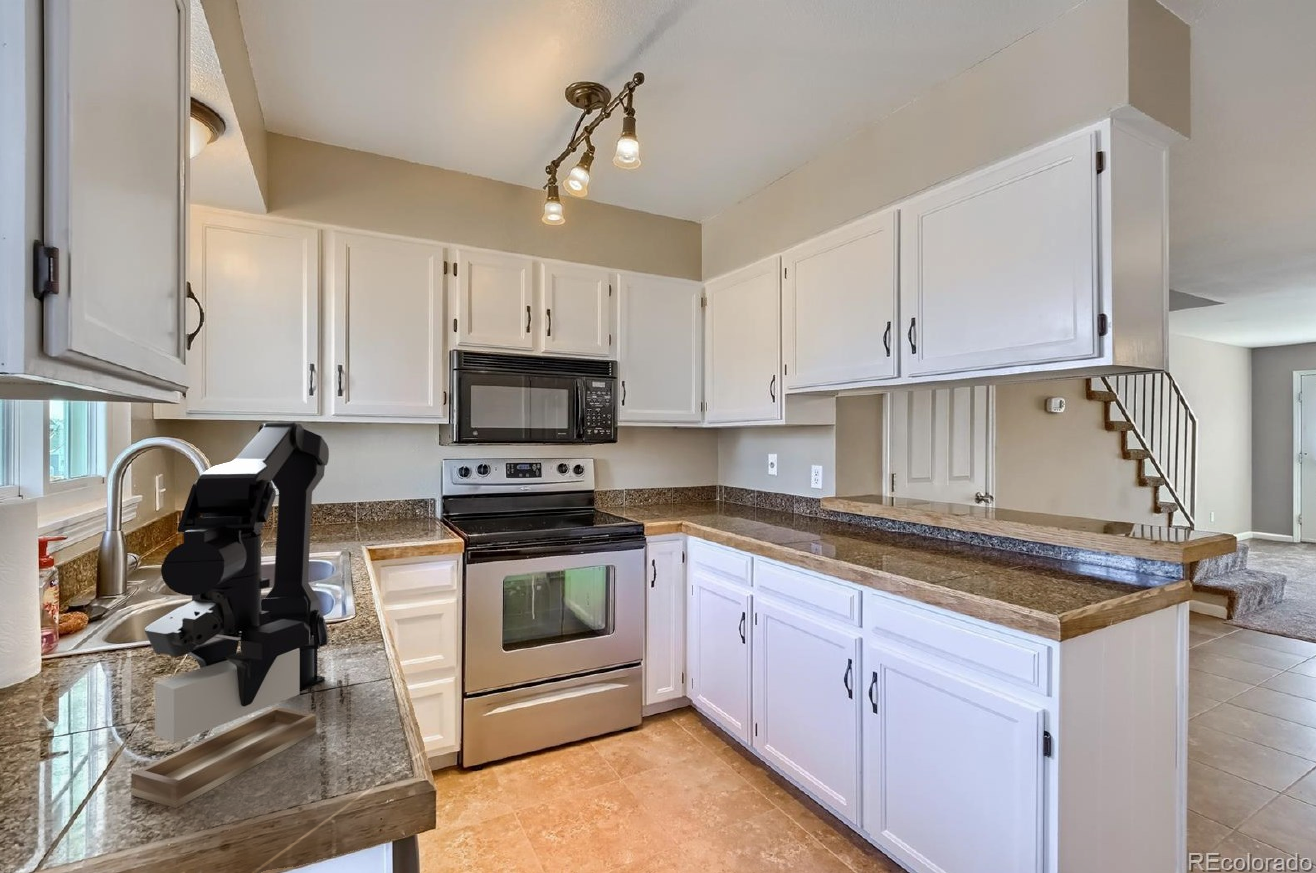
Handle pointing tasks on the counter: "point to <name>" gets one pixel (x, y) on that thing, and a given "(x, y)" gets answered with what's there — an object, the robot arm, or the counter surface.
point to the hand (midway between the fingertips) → (232, 702)
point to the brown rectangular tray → (221, 757)
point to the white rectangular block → (218, 696)
